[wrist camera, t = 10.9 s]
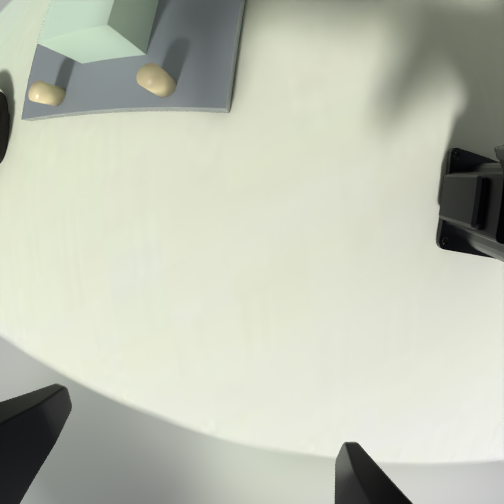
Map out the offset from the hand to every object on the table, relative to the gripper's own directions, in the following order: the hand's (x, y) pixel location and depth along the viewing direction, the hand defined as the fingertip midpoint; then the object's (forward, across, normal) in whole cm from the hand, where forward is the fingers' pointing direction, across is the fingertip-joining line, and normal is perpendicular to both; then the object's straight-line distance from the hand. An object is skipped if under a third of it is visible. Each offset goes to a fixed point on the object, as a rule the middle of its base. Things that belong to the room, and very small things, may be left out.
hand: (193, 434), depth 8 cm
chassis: (+12, +10, -18) cm, 24 cm away
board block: (+11, +10, -18) cm, 23 cm away
